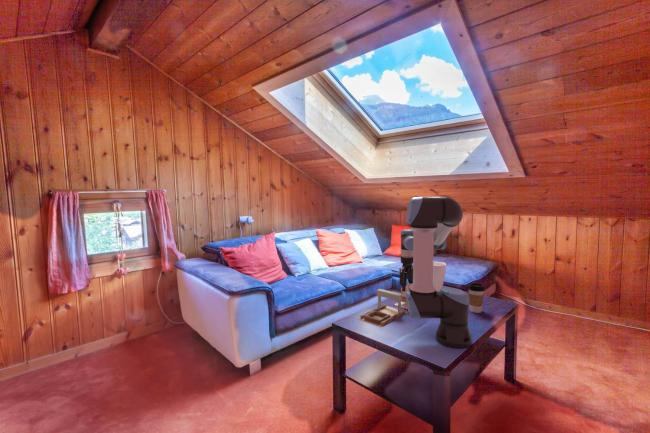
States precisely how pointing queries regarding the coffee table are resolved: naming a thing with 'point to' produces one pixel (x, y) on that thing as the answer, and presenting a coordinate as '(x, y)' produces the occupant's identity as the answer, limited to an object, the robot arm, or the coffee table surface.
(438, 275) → the cup
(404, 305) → the mat
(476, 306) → the coffee cup
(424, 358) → the coffee table surface
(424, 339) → the coffee table surface
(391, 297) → the cover bar
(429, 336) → the coffee table surface
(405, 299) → the block
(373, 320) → the puzzle board
